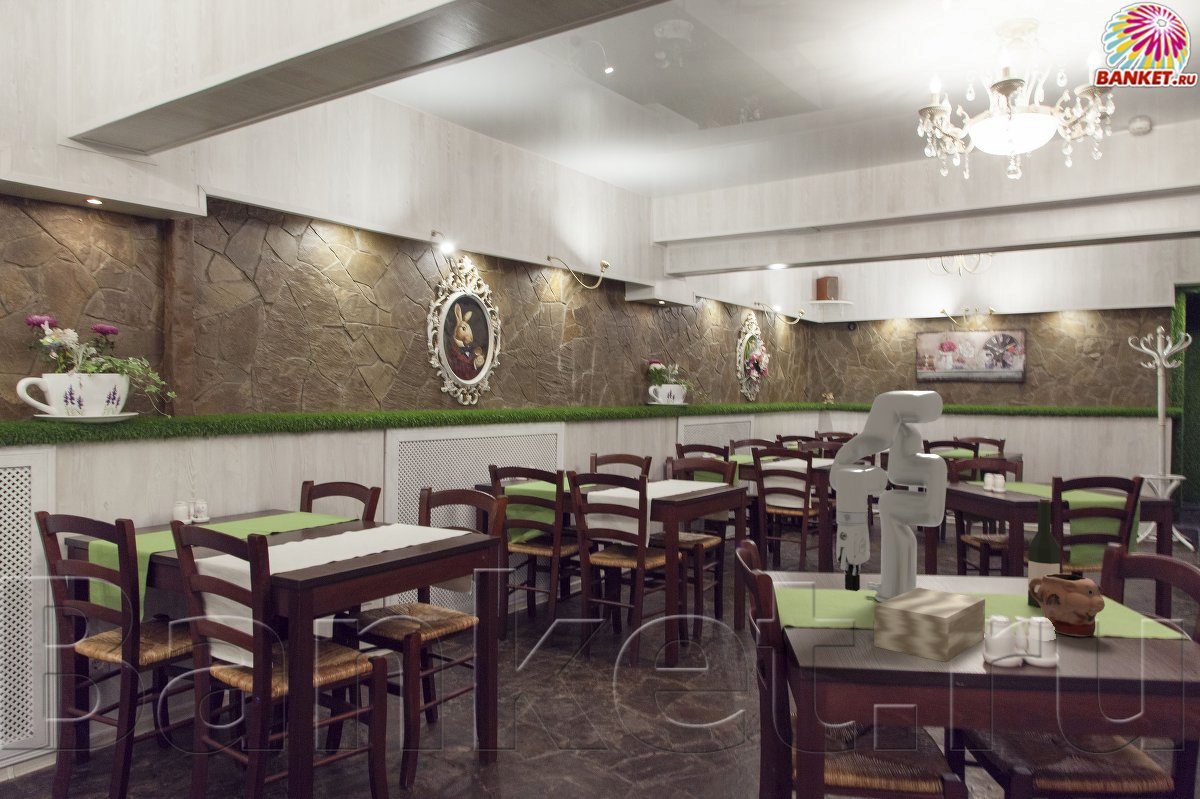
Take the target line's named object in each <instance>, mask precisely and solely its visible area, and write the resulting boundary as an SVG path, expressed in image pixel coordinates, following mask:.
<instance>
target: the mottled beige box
mask: <svg viewBox="0 0 1200 799" xmlns="http://www.w3.org/2000/svg"><path fill="white" fill-rule="evenodd" d="M873 619H874V620H873V626H874V627H873V628H874V629H873V647H874V648H875V647H876V648H880V649H883V650H889V651H894V652H898V653H902V654H907V655H911V656H917V657H921V658H926V659H930V660H934V661H939V662H944V663H947V662H948V661H950V660H952V659H953V658H954V657H955V658H956V656H958V655H959V654H962V653H963V652H965V651H966V650H968V649H970V648H971V647H973V646H974V645H976V644H978V643H980V642H981V641H983V640H984V639H985V638H984V633H985V634H986V632H985V631H986V598H984V597H977V596H970V595H964V594H958V593H954V592H953V593H952V592H948V591H947V592H946V591H940V590H935V589H931V588H930V589H928V588H923V587H916V589H914V590H911V591H908V592H906V593H903V594H901V595H898V596H896V597H893V598H891V599H888V600H886V601H883V602H878V603H876V604H874V618H873Z"/></svg>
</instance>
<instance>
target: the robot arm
mask: <svg viewBox="0 0 1200 799" xmlns="http://www.w3.org/2000/svg"><path fill="white" fill-rule="evenodd" d="M943 402H944V401H943V398H942V397H941V395H940V394H939V393H938V392H937V391H934V390H892V391H886V392H883V393H880V394H879V395H876V397H875V399H874V400H873V403H872V405H871V408H870V410H869V413H868V416H867V419H866V422H865V424H864V426H863V430H862V432H860V433H858V434H857V435H855V436H854V437H852V438H851V439H849V440H848V441H847V442H846V443H844V445H842V446H841V447H840V448H839V450H838V451H837V452H836V455H835V457H834V460H833V463H832V464H831V468H830V471H829V477H828V478H829V484H830V486H831V488H832V489H833V490H834V491H835V492H836V493H835V497H836V498H835V499H836V500H835V501H836V502H835V503H836V505H835V506H836V507H835V508H836V512H835V514H836V520H835V521H836V522H835V523H836V524H837V530H836V531H837V532H836V546H835V547H836V548H835V550H836V551H835V552H836V554H835V555H836V561H837V563H838V564H840V570H842V571H843V574H844V588H845V591H852V592H858V591H860V590H861V575H860V574H861V571H862V570H861V569H862V565H863V563H866V562H867V561H869V560H870V558H871V544H870V532H869V530H870V529H869V525H868V522H869V521H868V520H869V518H868V511H869V510H868V496H870V495H871V496H874V495H875V496H877V495H879V494H880V496H879V499H878V503H877V505H878V506H877V507H878V513H879V519H880V530H881V532H880V533H881V535H880V536H881V537H880V538H881V539H880V540H881V542H880V545H881V546H880V548H881V551H880V552H881V553H880V582H878V583H876V582H874V581H873V582H872V581H868V582H867V589H868V590H870V591H875V592H876V593H875V594H874V599H875V600H876V601H877V602H878V603H881V602H883V601H886V600H888V599H891V598H893V597H896V596H898V595H901V594H903V593H906V592H908V591H911V590H914V589H916V588H917V565H918V564H917V562H918V561H917V557H918V556H917V555H918V554H917V553H918V552H917V551H918V549H917V548H918V541H917V538H916V535H915V533H914V532H913V530H912V528H911V527H910V526H920V527H928V528H931V527H932V528H933V527H934V528H935V527H938V526H940V525H941V524H942V522H943V520H944V516H945V509H946V508H945V507H946V496H947V495H946V494H947V485H948V483H947V482H948V468H947V463H946V461H945V459H944V458H943V457H942V456H940V455H938V454H932V453H922V452H921V450H922V440H923V439H922V435H921V433H920V432H919V430H918V428H917V427H916V426H915V425H914V424H928V423H932V422H935V421H936V422H937V420H939V418H941V415H942V413H943V411H944V410H943V409H944V403H943ZM887 450H889V452H888V461H887V473H886V471H885V470H884V469H883V468H882V467H880V466H877V465H870V464H868V465H867V464H854V463H856V462H857V461H859V460H861V459H862V458H865V457H868V456H869V457H870V456H872V455H876V454H879V453H883V452H885V451H887ZM888 482H890V483H891V484H892V485H895V486H902V487H903V486H905V487H913V488H914V487H916V488H924V489H926V491H915V490H907V489H906V490H905V489H890V490H885V489H886V488H887V486H888Z"/></svg>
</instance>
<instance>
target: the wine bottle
mask: <svg viewBox="0 0 1200 799" xmlns="http://www.w3.org/2000/svg"><path fill="white" fill-rule="evenodd" d="M1037 502H1038V503H1037V507H1038V508H1037V532H1036V533H1035V535H1034V536H1033V538H1032V539H1030V540H1031V541H1030V542H1029V543H1028V557H1027V558H1028V565H1027V567H1028V571H1027V572H1028V574H1027V575H1028V576H1027V577H1028V578H1027V580H1028V581H1027V606H1031V607H1034V608H1038V609H1042V608H1041V606H1040V605H1039V603H1038V601H1037V600H1036V599H1035V598H1033V597H1032V595H1031V593H1030V590H1029V584H1030V582H1031V580H1032V579H1033V578H1037V577H1041V578H1043V576H1044V575H1047V574H1061V573H1060V571H1061V569H1060V568H1061V567H1060V566H1061V565H1060V562H1061V561H1060V560H1061V557H1060V556H1061V547H1060V545H1059V543H1058V542H1057V540H1056V538H1055V537H1054V536H1053V534H1052V532H1051V530H1052V529H1051V528H1052V525H1051V524H1052V522H1051V521H1052V520H1051V519H1052V502H1050V498H1049V499H1047V498H1040V499H1039V501H1037ZM1040 586H1041V585H1036V587H1035V594H1036V596H1037V591H1038V589H1039V587H1040Z"/></svg>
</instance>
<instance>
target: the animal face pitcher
mask: <svg viewBox="0 0 1200 799" xmlns="http://www.w3.org/2000/svg"><path fill="white" fill-rule="evenodd" d="M1036 585H1041V586H1040V587H1039V589H1038V591H1037V596H1036V594H1035V587H1036ZM1029 590H1030V593H1031V595H1032V597H1033V598H1035V599H1036V600H1037V601H1038V603H1039V605H1040V606H1041V608H1040V609H1041V610H1042V613H1043V615H1044V618H1045V617H1046V618H1048V619H1049V620H1050V621H1051V622H1052V624H1053V626H1054V627H1055V630H1056V633H1059V634H1064V635H1067V636H1075V637H1088V636H1090V637H1091V636H1093V635H1094V634H1095V632H1096V616H1097V614H1098V613H1100V612H1102V611H1103V610H1104V609H1105V606H1106V605H1105V604H1106V603H1105V599H1104V598H1103V596H1102V595H1101V592H1100V588H1099V587H1098V585H1097V583H1095V582H1094V580H1092V579H1091V578H1088V577H1083V576H1079V575H1076V574H1070V573H1060V574H1047V575H1044V576H1043V578H1041V577H1037V578H1033V579H1032V580H1031V582H1030V584H1029Z"/></svg>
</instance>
